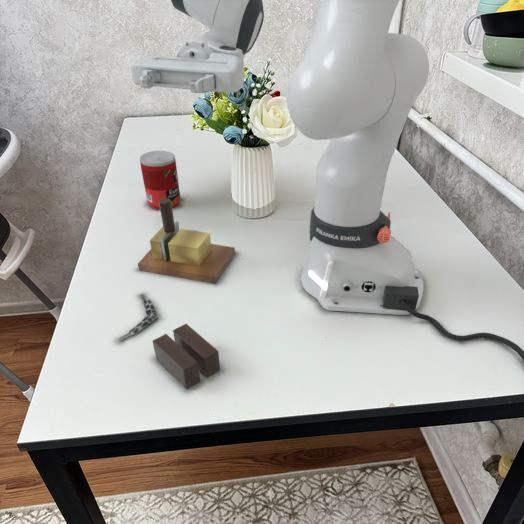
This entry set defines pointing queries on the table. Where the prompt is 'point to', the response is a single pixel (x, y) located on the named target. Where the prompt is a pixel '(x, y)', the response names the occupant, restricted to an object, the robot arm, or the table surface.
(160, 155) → the canned food
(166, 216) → the butter cutter
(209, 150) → the table surface
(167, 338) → the knife block
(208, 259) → the butter board
